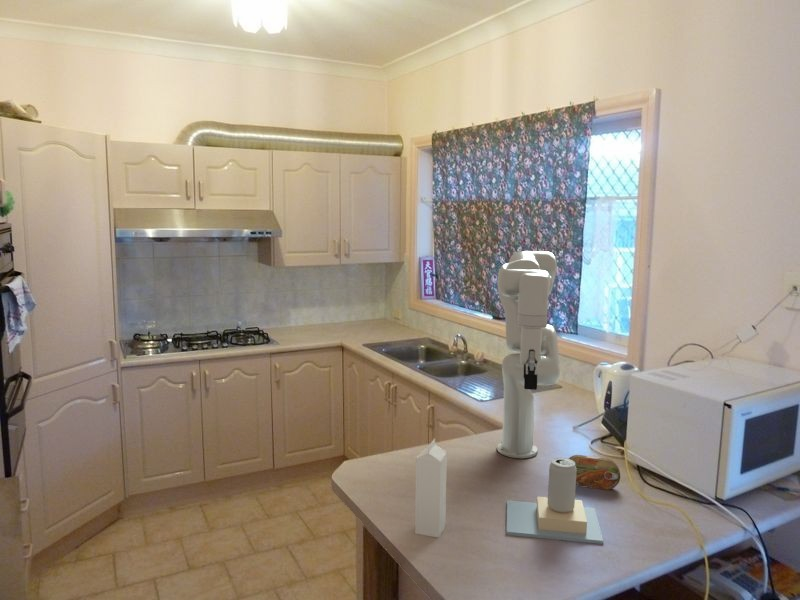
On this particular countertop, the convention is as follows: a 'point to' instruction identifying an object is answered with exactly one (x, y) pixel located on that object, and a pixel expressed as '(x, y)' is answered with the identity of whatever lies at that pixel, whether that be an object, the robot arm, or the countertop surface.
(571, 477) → the beverage can
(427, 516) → the milk
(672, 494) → the countertop surface
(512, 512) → the board
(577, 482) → the tin
